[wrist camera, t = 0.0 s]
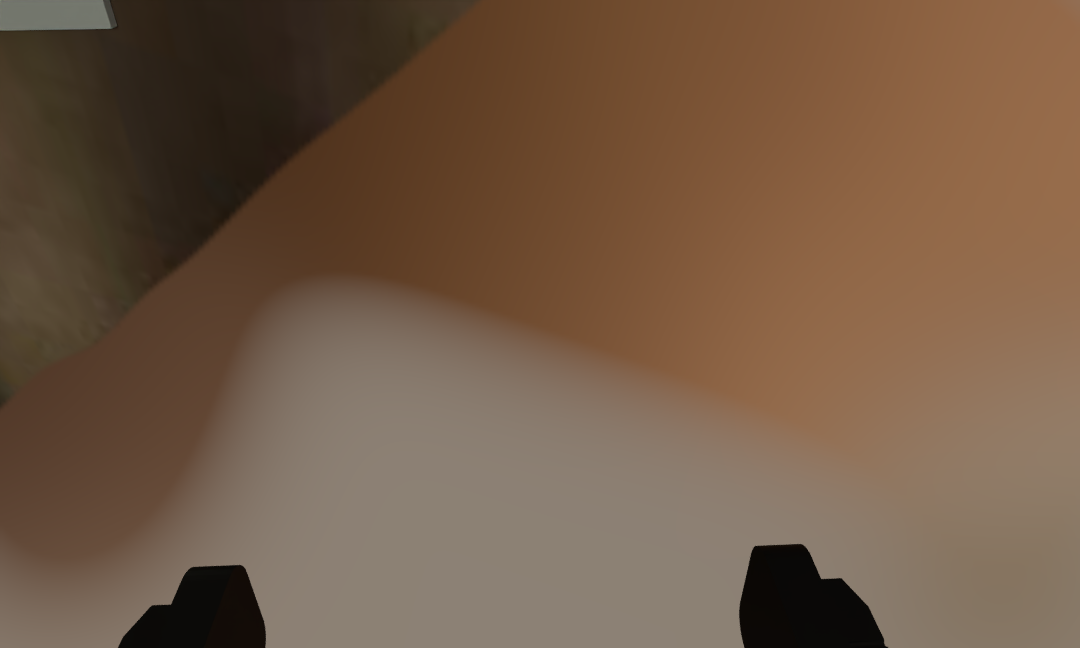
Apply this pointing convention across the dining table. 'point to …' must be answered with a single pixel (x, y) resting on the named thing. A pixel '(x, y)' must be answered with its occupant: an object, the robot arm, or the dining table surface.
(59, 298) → the dining table surface
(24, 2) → the mat
